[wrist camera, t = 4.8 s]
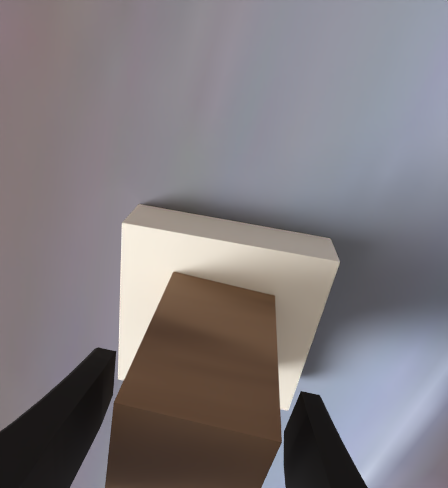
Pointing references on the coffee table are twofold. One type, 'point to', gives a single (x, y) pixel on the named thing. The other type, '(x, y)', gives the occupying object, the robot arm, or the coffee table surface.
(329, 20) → the coffee table surface
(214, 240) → the cream slab
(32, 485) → the robot arm
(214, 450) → the walnut block
